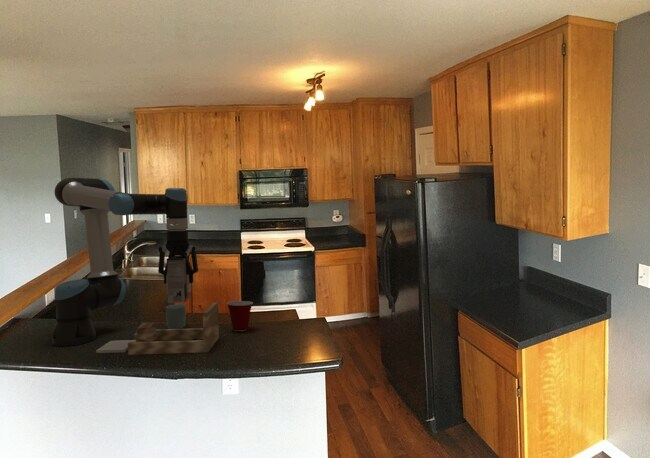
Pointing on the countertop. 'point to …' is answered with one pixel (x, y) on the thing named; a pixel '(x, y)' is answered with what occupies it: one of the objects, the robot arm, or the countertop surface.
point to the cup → (176, 316)
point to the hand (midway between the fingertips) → (179, 292)
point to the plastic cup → (240, 314)
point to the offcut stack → (146, 333)
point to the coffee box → (177, 280)
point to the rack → (182, 337)
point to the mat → (115, 346)
